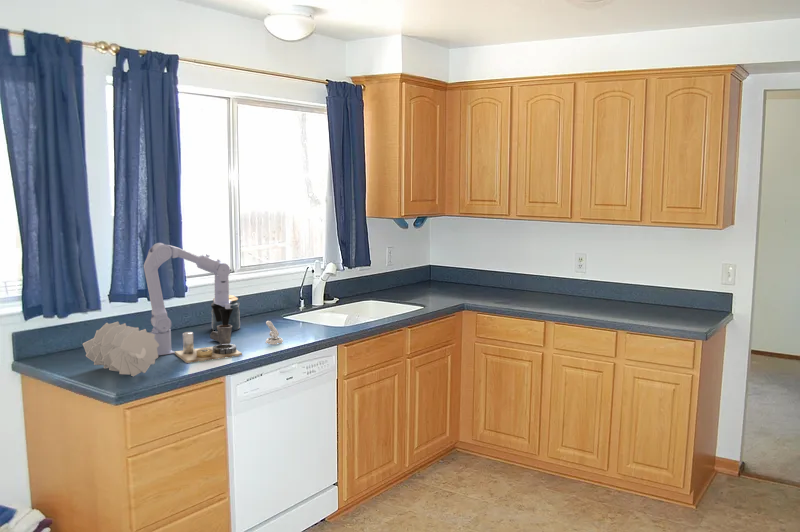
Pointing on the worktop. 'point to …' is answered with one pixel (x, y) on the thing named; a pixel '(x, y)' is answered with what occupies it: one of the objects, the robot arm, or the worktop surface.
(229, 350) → the socket large
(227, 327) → the pipe
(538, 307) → the worktop surface
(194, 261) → the robot arm
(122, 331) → the spiral staircase
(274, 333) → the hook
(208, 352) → the plug small
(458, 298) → the worktop surface
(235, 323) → the canister
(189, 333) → the pipe stub
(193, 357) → the fitting board
